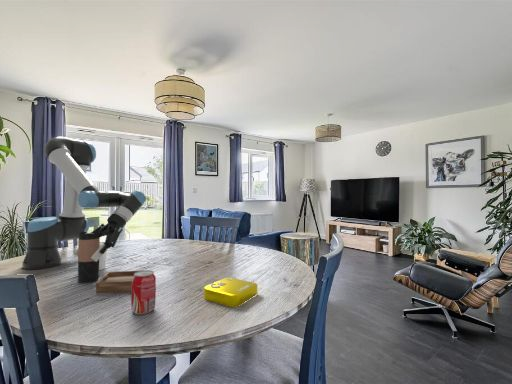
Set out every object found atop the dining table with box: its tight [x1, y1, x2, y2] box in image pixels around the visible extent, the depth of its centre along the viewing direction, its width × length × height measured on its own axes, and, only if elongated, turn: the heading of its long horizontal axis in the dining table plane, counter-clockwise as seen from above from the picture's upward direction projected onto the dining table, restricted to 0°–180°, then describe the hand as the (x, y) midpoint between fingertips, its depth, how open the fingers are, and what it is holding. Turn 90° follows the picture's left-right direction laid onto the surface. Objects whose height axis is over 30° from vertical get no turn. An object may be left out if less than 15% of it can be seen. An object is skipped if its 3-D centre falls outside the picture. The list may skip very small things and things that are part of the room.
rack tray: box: [95, 269, 144, 295], centre depth 106 cm, size 14×14×4 cm
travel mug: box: [77, 230, 101, 284], centre depth 113 cm, size 8×8×20 cm
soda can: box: [130, 269, 157, 315], centre depth 85 cm, size 7×7×12 cm
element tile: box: [203, 276, 258, 308], centre depth 98 cm, size 15×15×5 cm
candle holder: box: [99, 241, 108, 271], centre depth 129 cm, size 10×10×12 cm
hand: (84, 257), depth 111 cm, fingers open, 13 cm apart
